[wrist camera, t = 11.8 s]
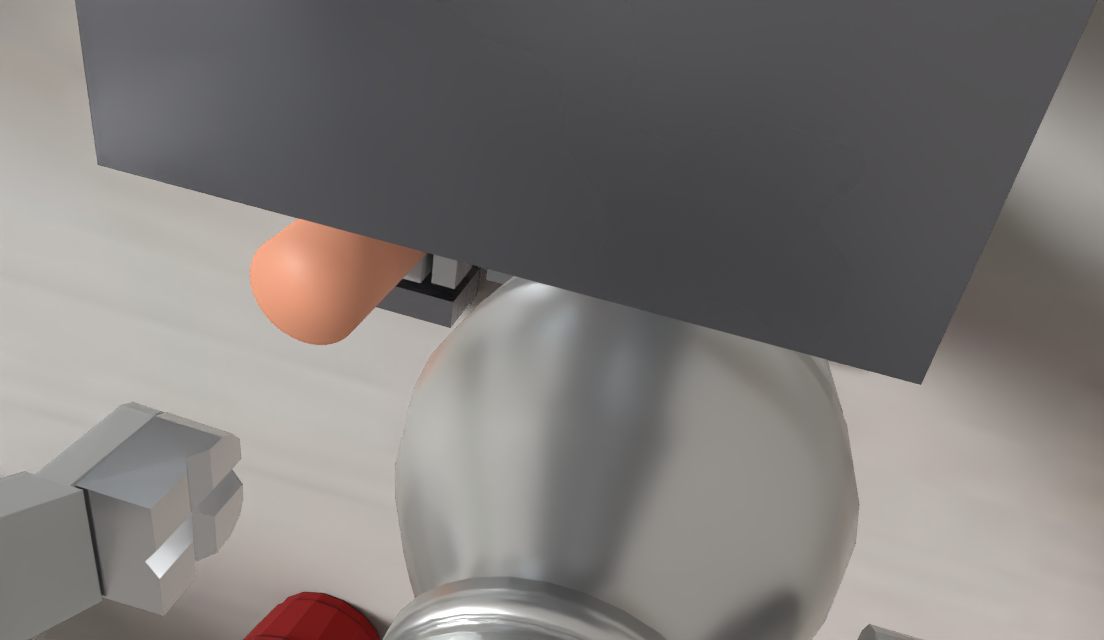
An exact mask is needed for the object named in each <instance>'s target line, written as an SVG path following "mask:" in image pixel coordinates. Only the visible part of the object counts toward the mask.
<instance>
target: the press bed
mask: <svg viewBox="0 0 1104 640" xmlns="http://www.w3.org/2000/svg"><path fill="white" fill-rule="evenodd" d="M1096 2H1097V0H75V3H76V11H77V18H78V25H79V32H80V39H81V47H82V54H83V61H84V68H85V76H86V83H87V90H88V97H89V105H90V112H91V119H92V126H93V134H94V141H95V148H96V155H97V162H98V165H100V166H104V167H108V168H112V169H115V170H119V171H123V172H127V173H130V174H134V175H138V176H142V177H145V178H149V179H153V180H157V181H160V182H164V183H168V184H171V185H175V186H179V187H183V188H186V189H190V190H194V191H198V192H201V193H205V194H209V195H213V196H216V197H220V198H224V199H228V200H231V201H235V202H239V203H243V204H246V205H250V206H254V207H258V208H261V209H265V210H269V211H273V212H276V213H280V214H284V215H288V216H291V217H295V218H299V219H302V220H306V221H310V222H314V223H317V224H321V225H325V226H329V227H332V228H336V229H340V230H344V231H347V232H351V233H355V234H359V235H362V236H366V237H370V238H374V239H377V240H381V241H385V242H389V243H392V244H396V245H400V246H404V247H407V248H411V249H415V250H419V251H422V252H426V253H430V254H433V255H437V256H441V257H445V258H448V259H452V260H456V261H460V262H463V263H467V264H471V265H475V266H478V267H482V268H486V269H487V276H486V280H488V281H492V282H496V283H500V284H505V283H506V282H507V281H508V280H510V279H511V278H512V277H513V276H516V277H520V278H523V279H527V280H531V281H535V282H538V283H542V284H546V285H549V286H553V287H557V288H561V289H564V290H568V291H572V292H576V293H579V294H583V295H587V296H591V297H594V298H598V299H602V300H606V301H609V302H613V303H617V304H621V305H624V306H628V307H632V308H636V309H639V310H643V311H647V312H651V313H654V314H658V315H662V316H666V317H669V318H673V319H677V320H680V321H684V322H688V323H692V324H695V325H699V326H703V327H707V328H710V329H714V330H718V331H722V332H725V333H729V334H733V335H737V336H740V337H744V338H748V339H752V340H755V341H759V342H763V343H767V344H770V345H774V346H778V347H782V348H785V349H789V350H793V351H797V352H800V353H804V354H808V355H811V356H815V357H819V358H823V359H826V360H830V361H834V362H838V363H841V364H845V365H849V366H853V367H856V368H860V369H864V370H868V371H871V372H875V373H879V374H883V375H886V376H890V377H894V378H898V379H901V380H905V381H909V382H913V383H916V384H920V385H921V383H922V381H923V379H924V377H925V375H926V372H927V370H928V368H929V366H930V364H931V362H932V359H933V357H934V355H935V353H936V351H937V348H938V346H939V344H940V342H941V340H942V338H943V335H944V333H945V331H946V329H947V327H948V324H949V322H950V320H951V318H952V316H953V314H954V311H955V309H956V307H957V305H958V303H959V300H960V298H961V296H962V294H963V292H964V290H965V287H966V285H967V283H968V281H969V279H970V277H971V274H972V272H973V270H974V268H975V266H976V263H977V261H978V259H979V257H980V255H981V253H982V250H983V248H984V246H985V244H986V242H987V239H988V237H989V235H990V233H991V231H992V229H993V226H994V224H995V222H996V220H997V218H998V215H999V213H1000V211H1001V209H1002V207H1003V205H1004V202H1005V200H1006V198H1007V196H1008V194H1009V191H1010V189H1011V187H1012V185H1013V183H1014V181H1015V178H1016V176H1017V174H1018V172H1019V170H1020V167H1021V165H1022V163H1023V161H1024V159H1025V157H1026V154H1027V152H1028V150H1029V148H1030V146H1031V143H1032V141H1033V139H1034V137H1035V135H1036V133H1037V130H1038V128H1039V126H1040V124H1041V122H1042V119H1043V117H1044V115H1045V113H1046V111H1047V109H1048V106H1049V104H1050V102H1051V100H1052V98H1053V95H1054V93H1055V91H1056V89H1057V87H1058V85H1059V82H1060V80H1061V78H1062V76H1063V74H1064V71H1065V69H1066V67H1067V65H1068V63H1069V61H1070V58H1071V56H1072V54H1073V52H1074V50H1075V47H1076V45H1077V43H1078V41H1079V39H1080V37H1081V34H1082V32H1083V30H1084V28H1085V26H1086V23H1087V21H1088V19H1089V17H1090V15H1091V13H1092V10H1093V8H1094V6H1095V4H1096Z"/></svg>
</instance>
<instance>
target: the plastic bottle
mask: <svg viewBox="0 0 1104 640" xmlns="http://www.w3.org/2000/svg"><path fill="white" fill-rule="evenodd" d="M395 499H396V506H397V512H398V519H399V526H400V532H401V539H402V546H403V552H404V557H405V561H406V566H407V570H408V574H409V579H410V583H411V586H412V589H413V593H414V596H415V599H414V600H413V601H412V602H410V603H409V604H408V605H407V606H406V607H404V608H403V609H402V610H401V611H400V612H399V613H398V615H397V617H396V618H395V620H394V621H393V623H392V624H391V626H390V627H389V629H388V630H387V632H386V634H385V636H384V638H383V640H812V639H813V637H814V636H815V635H816V633H817V632H818V630H819V629H820V628H821V626H822V625H823V624H824V622H825V620H826V618H827V615H828V613H829V610H830V608H831V605H832V603H833V601H834V598H835V596H836V593H837V591H838V589H839V586H840V584H841V581H842V579H843V576H844V574H845V571H846V568H847V566H848V563H849V560H850V558H851V555H852V552H853V549H854V547H855V544H856V536H857V525H858V515H859V498H858V492H857V486H856V480H855V473H854V466H853V459H852V453H851V447H850V441H849V434H848V428H847V424H846V421H845V419H844V416H843V412H842V408H841V405H840V401H839V398H838V394H837V391H836V388H835V384H834V381H833V377H832V374H831V371H830V367H829V364H828V360H826V359H823V358H819V357H815V356H811V355H808V354H804V353H800V352H797V351H793V350H789V349H785V348H782V347H778V346H774V345H770V344H767V343H763V342H759V341H755V340H752V339H748V338H744V337H740V336H737V335H733V334H729V333H725V332H722V331H718V330H714V329H710V328H707V327H703V326H699V325H695V324H692V323H688V322H684V321H680V320H677V319H673V318H669V317H666V316H662V315H658V314H654V313H651V312H647V311H643V310H639V309H636V308H632V307H628V306H624V305H621V304H617V303H613V302H609V301H606V300H602V299H598V298H594V297H591V296H587V295H583V294H579V293H576V292H572V291H568V290H564V289H561V288H557V287H553V286H549V285H546V284H542V283H538V282H535V281H531V280H527V279H523V278H520V277H516V276H513V277H512V278H511V279H510V280H508V281H507V282H506V283H505V284H503V285H502V286H501V287H499V288H498V289H497V290H496V291H494V292H493V293H492V294H491V295H490V296H488V297H487V298H486V299H484V300H483V301H481V302H480V303H479V304H478V305H477V306H476V308H475V309H474V310H473V311H472V312H471V313H470V314H469V315H468V316H467V317H466V318H465V319H464V320H463V321H462V322H461V323H460V324H459V325H458V326H457V327H456V328H455V329H454V330H453V331H452V333H451V334H450V335H449V336H448V337H447V338H446V339H445V340H444V341H443V342H442V344H441V345H440V346H439V347H438V348H437V349H436V350H435V351H434V352H433V353H432V355H431V356H430V358H429V359H428V361H427V363H426V365H425V367H424V369H423V371H422V373H421V375H420V376H419V378H418V380H417V382H416V384H415V386H414V389H413V393H412V397H411V401H410V405H409V409H408V413H407V418H406V422H405V426H404V430H403V434H402V438H401V442H400V447H399V451H398V455H397V459H396V463H395Z"/></svg>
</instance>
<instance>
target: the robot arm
mask: <svg viewBox="0 0 1104 640" xmlns="http://www.w3.org/2000/svg"><path fill="white" fill-rule="evenodd" d="M240 460H241V449H240V439H239V438H238V437H236V436H235V435H233V434H231V433H228V432H225V431H222V430H219V429H216V428H213V427H210V426H207V425H204V424H201V423H198V422H195V421H192V420H189V419H186V418H183V417H180V416H177V415H174V414H171V413H167V412H166V413H165V412H162V411H159V410H156V409H153V408H150V407H147V406H144V405H141V404H138V403H135V402H131V403H127V404H123V405H120V406H119V407H118V408H116V409H115V410H114V411H113V412H111V413H110V414H109V415H108V416H106V417H105V418H104V419H103V420H102V421H100V422H99V423H98V424H97V425H95V426H94V427H93V428H92V429H90V430H89V431H88V432H87V433H85V434H84V435H83V436H82V437H81V438H79V439H78V440H77V441H76V442H74V443H73V444H72V445H71V446H69V447H68V448H67V449H66V450H64V451H63V452H62V453H61V454H60V455H58V456H57V457H56V458H55V459H53V460H52V461H51V462H50V463H48V464H47V465H46V466H45V467H43V468H42V469H41V470H40V471H38V472H37V473H36V474H32V473H28V472H25V471H24V472H20V473H17V474H14V475H11V476H7V477H4V478H1V479H0V640H29V639H31V638H33V637H35V636H37V635H39V634H41V633H42V632H44V631H46V630H48V629H50V628H52V627H54V626H56V625H58V624H60V623H62V622H63V621H65V620H67V619H69V618H71V617H73V616H75V615H77V614H79V613H81V612H82V611H84V610H86V609H88V608H90V607H92V606H94V605H96V604H98V603H100V602H101V601H102V597H103V598H106V599H109V600H113V601H116V602H119V603H123V604H126V605H129V606H132V607H136V608H139V609H142V610H146V611H149V612H152V613H155V614H159V615H162V616H164V615H165V614H166V613H167V612H168V611H169V609H170V608H171V607H172V606H173V605H174V603H175V602H176V601H177V600H178V599H179V597H180V596H181V595H182V594H183V593H184V591H185V590H186V589H187V588H188V587H189V586H190V584H191V583H192V582H193V581H194V580H195V578H196V561H198V560H200V559H203V558H205V557H207V556H210V555H212V554H215V553H217V552H218V551H219V549H220V548H221V547H222V546H223V544H224V543H225V542H226V541H227V539H228V538H229V537H230V535H231V533H232V531H233V529H234V527H235V525H236V522H237V520H238V518H239V516H240V512H241V507H242V502H243V484H242V483H241V481H240V480H239V478H238V477H237V475H236V474H235V473H234V471H233V470H232V468H233V467H234V466H235V465H236V464H237V463H238V462H239V461H240ZM857 640H923V639H919V638H916V637H913V636H909V635H906V634H902V633H899V632H895V631H892V630H888V629H885V628H881V627H878V626H875V625H871V624H869V625H867V626H866V627H865V628H864V629H863V630H862V632H861V634H860V636H859V638H858V639H857Z"/></svg>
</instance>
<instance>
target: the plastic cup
mask: <svg viewBox="0 0 1104 640" xmlns="http://www.w3.org/2000/svg"><path fill="white" fill-rule="evenodd" d="M243 640H380V639H379V636H378V634H377V631H376V630H375V628H374V627H373V626H372V625H371V624H370V623H369V621H368V620H367V619H366V618H365V617H364V616H363V614H361V613H360V612H358V611H357V610H355V609H354V608H353V607H351V606H350V605H348V604H347V603H345V602H344V601H341V600H339V599H336V598H333V597H331V596H328V595H325V594H323V593H308V592H302V593H299V594H296V595H293V596H290V597H288V598H287V599H286V600H285V601H284V602H283V603H281V604H278V605H277V606H276V607H275V608H274V609H273V610H272V611H271V612H270V613H269V614H268V615H267V616H266V617H265V618H264V619H263V620H262V621H261V622H260V623H259V624H258V625H257V626H256V627H255V628H254V629H253V630H252V631H251V632H250V633H249V634H248V635H247V636H246V637H245V638H244V639H243Z"/></svg>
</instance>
